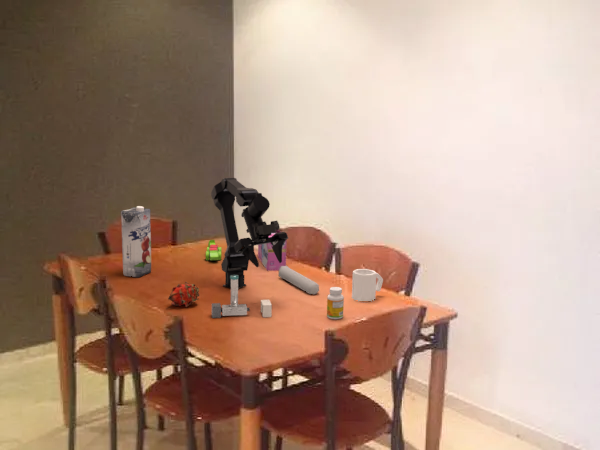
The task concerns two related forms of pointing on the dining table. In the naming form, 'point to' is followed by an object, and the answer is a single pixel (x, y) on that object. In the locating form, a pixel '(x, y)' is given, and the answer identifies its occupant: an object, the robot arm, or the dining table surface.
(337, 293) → the supplement bottle
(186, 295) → the dragon fruit
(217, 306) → the rod stand
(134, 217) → the juice carton
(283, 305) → the dining table surface
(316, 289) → the tube
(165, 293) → the dining table surface
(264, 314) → the socket block
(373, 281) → the mug
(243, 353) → the dining table surface
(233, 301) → the tube
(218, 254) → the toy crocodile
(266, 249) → the gum box
